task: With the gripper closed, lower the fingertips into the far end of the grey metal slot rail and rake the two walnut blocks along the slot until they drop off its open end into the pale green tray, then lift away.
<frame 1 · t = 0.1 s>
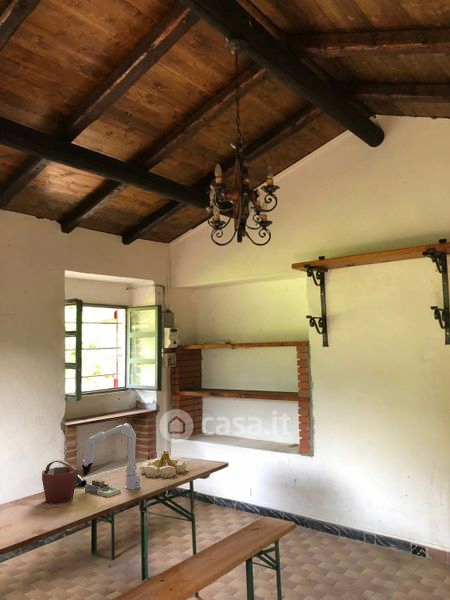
hand: (86, 474, 328), 11 cm above the table, tool pointing down, fingers open, 7 cm apart
block b: (96, 485, 324), point 3 cm above the table, touching rail
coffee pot: (73, 488, 332), on the table
tray: (108, 493, 316), on the table
rail: (97, 490, 323), on the table
campfire: (163, 472, 368), on the table
bucket: (58, 500, 305), on the table
block a: (100, 486, 321), point 3 cm above the table, touching rail
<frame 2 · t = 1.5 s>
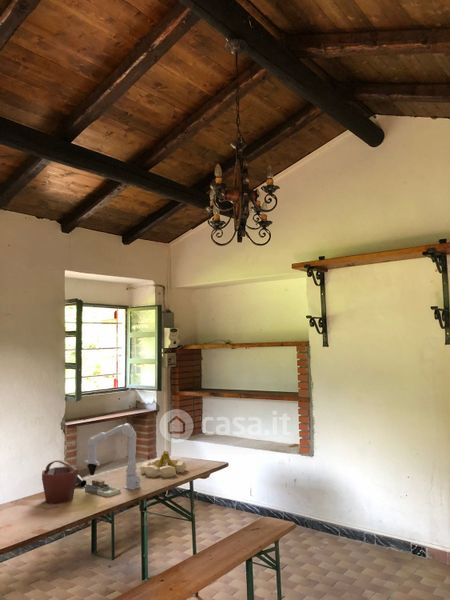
hand: (92, 474, 328), 10 cm above the table, tool pointing down, fingers closed
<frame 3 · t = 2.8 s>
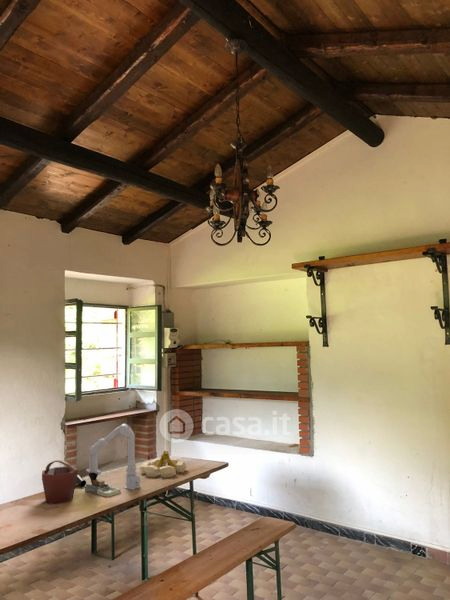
hand: (93, 483, 326), 4 cm above the table, tool pointing down, fingers closed
block b: (96, 486, 324), point 3 cm above the table, touching gripper, rail
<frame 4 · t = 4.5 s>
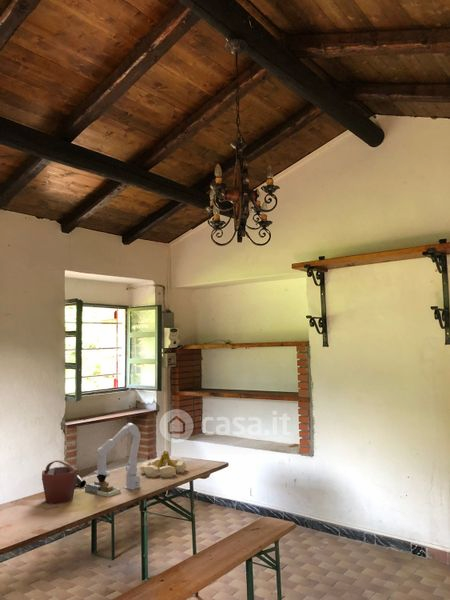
hand: (101, 485, 321), 4 cm above the table, tool pointing down, fingers closed
block b: (104, 488, 318), point 3 cm above the table, tilted 6°, touching block a, gripper
block a: (106, 488, 317), point 3 cm above the table, tilted 96°, touching block b
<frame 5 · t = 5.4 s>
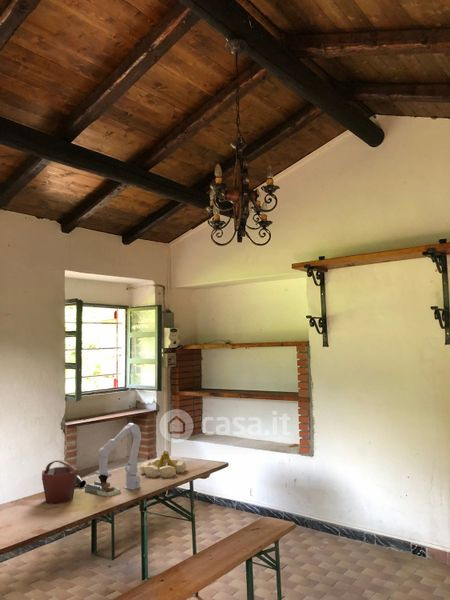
hand: (103, 486, 319), 4 cm above the table, tool pointing down, fingers closed
block b: (105, 488, 317), point 3 cm above the table, tilted 6°, touching block a, gripper
block a: (107, 488, 316), point 3 cm above the table, tilted 96°, touching block b, tray
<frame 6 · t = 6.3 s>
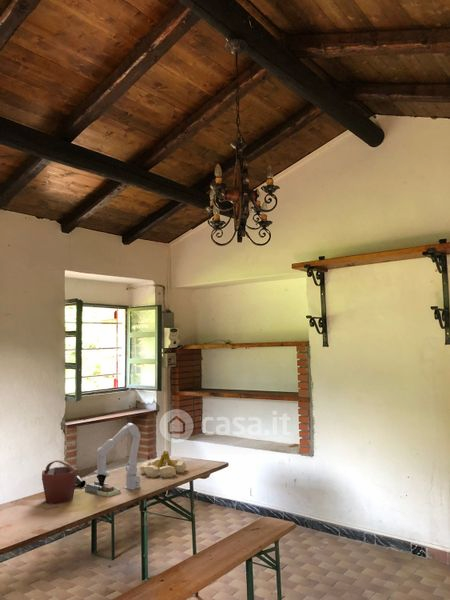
hand: (101, 485, 321), 4 cm above the table, tool pointing down, fingers closed
block b: (105, 492, 317), point 1 cm above the table, touching tray
block a: (107, 489, 316), point 3 cm above the table, tilted 90°, touching tray
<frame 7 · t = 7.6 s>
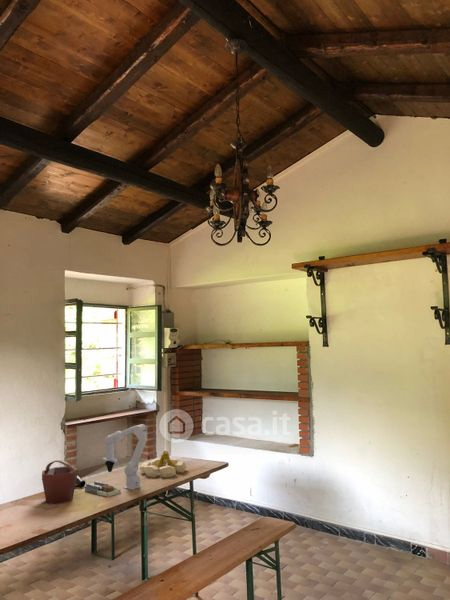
hand: (109, 471, 334), 10 cm above the table, tool pointing down, fingers closed
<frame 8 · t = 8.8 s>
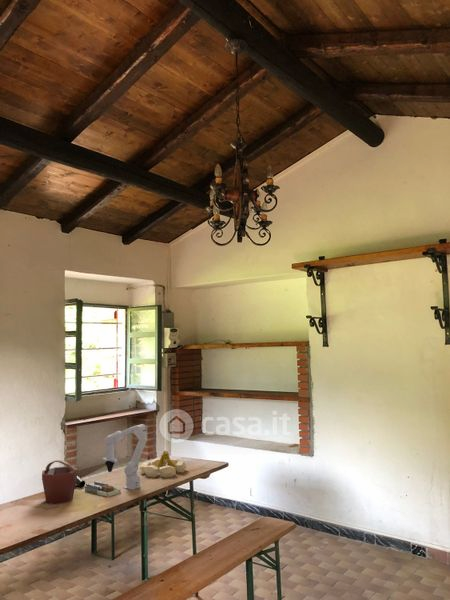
hand: (109, 471, 334), 10 cm above the table, tool pointing down, fingers closed
at the end: block a inside the target area (1.5 cm from its centre), point 2.6 cm above the table; block b inside the target area (3.6 cm from its centre), point 0.6 cm above the table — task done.
